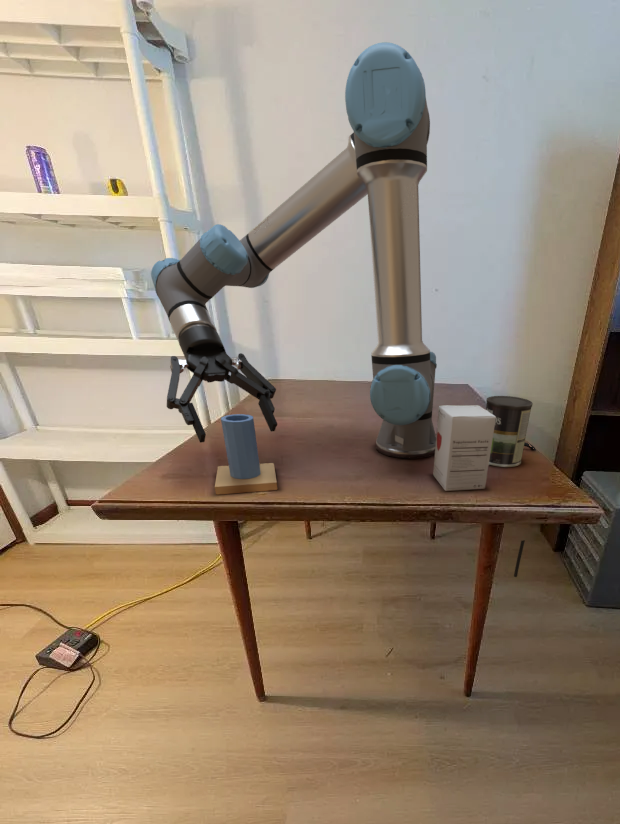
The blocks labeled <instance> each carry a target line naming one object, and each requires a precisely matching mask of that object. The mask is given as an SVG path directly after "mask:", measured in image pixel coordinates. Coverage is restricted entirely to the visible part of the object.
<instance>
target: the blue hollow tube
mask: <svg viewBox="0 0 620 824" xmlns="http://www.w3.org/2000/svg"><path fill="white" fill-rule="evenodd" d="M220 422H221V428H222V435H223V440H224V445H225V451H226V458H227V463H228V466H229V470H230V476H231V477H233V478H236V479H250V478H254V477H257V476H258V475H260V474H261V472H260V464H261V463H260V458H259V449H258V443H257V435H256V434H257V433H256V429H255V420H254V416H253V415H250V414H244V413H236V414H235V413H234V414H228V415H227V414H226V415H224V416H221V418H220Z"/></svg>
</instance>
